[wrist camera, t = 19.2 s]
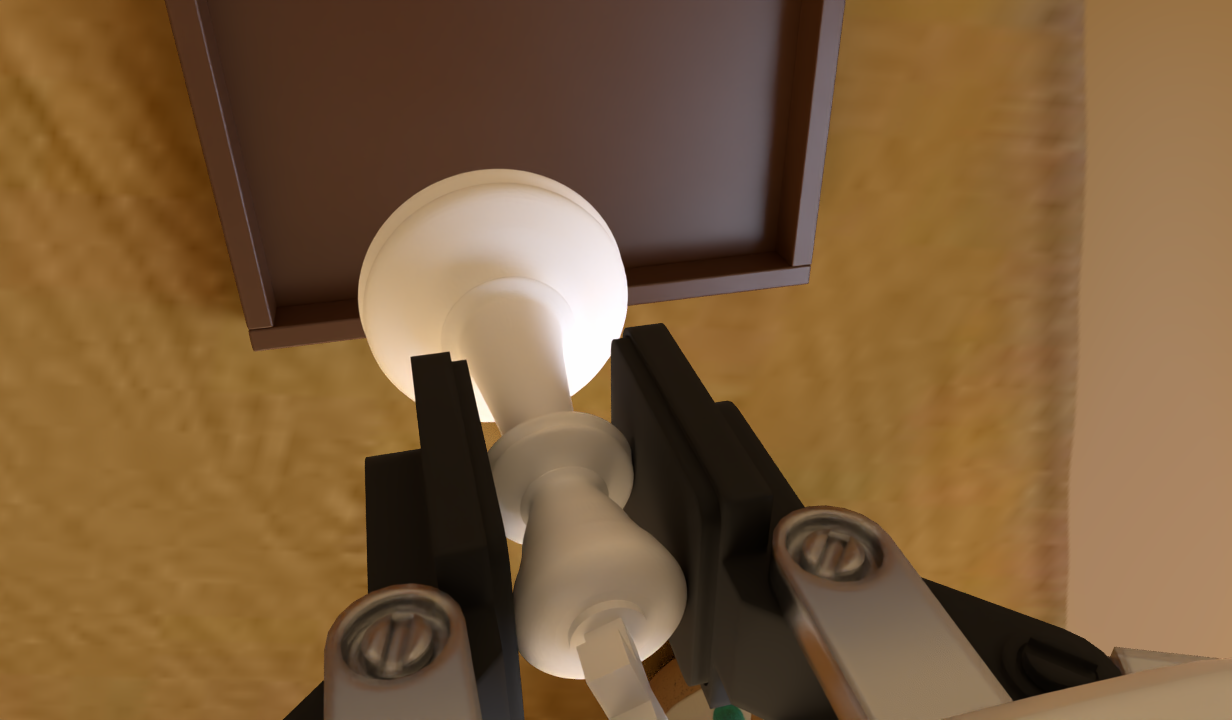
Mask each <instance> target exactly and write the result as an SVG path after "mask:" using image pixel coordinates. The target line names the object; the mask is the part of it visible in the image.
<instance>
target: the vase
mask: <svg viewBox="0 0 1232 720" xmlns="http://www.w3.org/2000/svg"><path fill="white" fill-rule="evenodd" d="M649 684H650V687H651V689H652V691H653V693H654V695H655V696H656V698H657V700H658V702H659V704H660V706H661V707H662V709H663V711H664V713H665V715H666V716H667V718H668V720H751V713H749V712H747V711H745V710H742V709H740V708H738V707H736V706H734V705H732V704H730V705H726V706H722V707H718V708H714V709H710V708H709V705H708V703H707V700H706V698H705V696H704V693H703V691H702V688H701V686H700V685H695V686H691V687H690V686H688V685H687V684H686V682H685V680H684V678H683V675H682V673H681V670H680V668H679V665H678V663H677V660H676V658H675V659H673V660H672V661H670V662H669V663H668V664H667V665H665V666H664V667H663V668H662V669H661V670H659V671H658V672H657V674H656V675H655V676H654V677H653V678H652V679H651V680H650V682H649Z"/></svg>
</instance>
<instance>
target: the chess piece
mask: <svg viewBox="0 0 1232 720" xmlns="http://www.w3.org/2000/svg"><path fill="white" fill-rule="evenodd" d="M627 303H628V288H627V279H626V274H625V269H624V266H623V262H622V260H621V256H620V252H619V249H618V246H617V243H616V241H615V239H614V236H613V234H612V232H611V231H610V229H609V227H608V226H607V224H606V222H605V221H604V220H603V218H602V217H601V216H600V214H599V213H598V212H597V211H596V210H595V209H594V208H593V206H592V205H590V204H589V203H588V202H587V201H586V200H585V199H584V198H583V197H581V196H580V195H579V194H577V193H576V192H574V191H573V190H572V189H570V188H568V187H567V186H565V185H563V184H561V183H559V182H557V181H555V180H552V179H550V178H547V177H544V176H541V175H538V174H534V173H531V172H526V171H520V170H512V169H485V170H477V171H471V172H466V173H462V174H458V175H455V176H452V177H449V178H446V179H443V180H441V181H439V182H436V183H434V184H432V185H430V186H428V187H426V188H425V189H423V190H421V191H420V192H418V193H416V194H415V195H413V196H412V197H411V198H409V199H408V200H407V201H406V202H404V203H403V204H402V205H401V206H400V207H399V208H398V209H397V210H395V211H394V212H393V213H392V215H391V216H390V217H389V218H388V219H387V220H386V221H385V223H384V224H383V225H382V227H381V228H380V229H379V231H378V232H377V234H376V236H375V237H374V239H373V241H372V243H371V244H370V246H369V249H368V251H367V253H366V256H365V259H364V262H363V265H362V268H361V273H360V278H359V286H358V307H359V313H360V319H361V323H362V326H363V330H364V332H365V335H366V338H367V340H368V343H369V346H370V348H371V351H372V353H373V355H374V357H375V359H376V361H377V363H378V365H379V366H380V368H381V369H382V371H383V372H384V374H385V375H386V376H387V377H388V379H389V380H390V381H391V382H392V383H393V384H394V385H395V386H396V387H397V388H398V389H399V390H400V391H401V392H403V393H404V394H405V395H406V396H408V397H409V398H410V399H412V400H413V401H415V393H414V385H413V376H412V368H411V359H410V357H411V356H419V355H426V354H434V353H441V352H450V356H451V361H459V360H467V364H468V368H469V373H470V377H471V382H472V386H473V390H474V395H475V399H476V404H477V408H478V413H479V417H480V422H496V424H497V426H498V428H499V430H500V432H501V434H502V437H501V438H500V439H499V440H498V441H497V442H496V443H495V444H494V445H493V446H492V447H491V449H490V450H489V451H488V457H489V462H490V466H491V471H492V475H493V480H494V484H495V489H496V493H497V497H498V502H499V506H500V511H501V515H502V520H503V524H504V529H505V535H506V537H507V538H508V539H510V540H512V541H515V542H517V543H519V544H522V559H521V564H520V569H519V572H518V575H517V578H516V581H515V585H514V590H513V603H514V614H515V624H516V635H517V646H518V651H519V652H520V654H521V655H522V656H523V657H524V658H525V659H526V660H527V661H528V662H529V663H530V664H531V665H533V666H534V667H536V668H537V669H539V670H541V671H543V672H545V673H548V674H551V675H554V676H558V677H562V678H569V679H586V683H587V685H588V687H589V688H590V690H591V691H592V693H593V695H594V696H595V698H596V699H597V701H598V703H599V704H600V706H601V707H602V709H603V711H604V712H605V714H606V715H607V717H608V719H609V720H668V718H667V716H666V715H665V713H664V711H663V709H662V707H661V706H660V704H659V702H658V700H657V698H656V696H655V695H654V693H653V691H652V689H651V687H650V684H649V682H648V679H647V676H646V673H645V671H644V668H643V665H642V661H643V660H645V659H646V658H648V657H649V656H651V655H652V654H653V653H654V652H656V651H657V650H658V649H659V648H660V647H661V646H662V645H663V644H664V643H665V642H666V641H667V640H668V639H669V638H670V636H671V635H672V634H673V632H674V631H675V629H676V628H677V626H678V625H679V623H680V621H681V619H682V616H683V614H684V611H685V607H686V602H687V585H686V580H685V577H684V574H683V571H682V569H681V567H680V566H679V564H678V562H677V561H676V560H675V558H674V557H673V556H672V555H671V554H670V552H669V551H668V550H667V549H666V548H665V547H664V546H663V545H662V544H661V543H660V542H659V541H657V540H656V539H655V538H654V537H653V536H652V535H651V534H650V533H648V532H647V531H645V530H644V529H642V528H640V527H639V526H638V525H637V524H636V523H635V522H634V521H632V520H631V519H630V518H629V516H628V515H627V514H626V513H625V511H624V510H623V508H624V506H625V505H626V503H627V501H628V499H629V497H630V494H631V491H632V487H633V481H634V471H633V465H632V453H631V448H630V445H629V443H628V441H627V440H626V438H625V437H624V435H623V434H622V433H621V432H620V431H619V430H618V429H617V428H616V427H615V426H614V425H612V424H611V423H609V422H608V421H606V420H604V419H602V418H600V417H597V416H595V415H591V414H587V413H583V412H574V411H573V407H572V401H571V396H572V395H574V394H575V393H576V392H578V391H579V390H580V389H582V388H583V387H584V386H585V385H586V384H587V383H588V382H589V381H590V380H591V379H592V378H593V377H594V376H595V375H596V374H597V373H598V372H599V371H600V369H601V368H602V367H603V366H604V364H605V363H606V361H607V360H608V358H609V357H610V355H611V343H612V340H613V339H619V337H620V335H621V332H622V329H623V326H624V322H625V318H626V312H627Z"/></svg>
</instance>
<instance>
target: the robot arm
mask: <svg viewBox="0 0 1232 720" xmlns="http://www.w3.org/2000/svg"><path fill="white" fill-rule="evenodd" d="M410 359H411V368H412V376H413V385H414V393H415V402H416V410H417V419H418V428H419V436H420V445H421V449H416V450H410V451H403V452H397V453H390V454H384V455H378V456H371V457H366V459H365V491H366V532H367V572H368V594H367V595H365V596H363V597H361V598H360V599H358V600H356V601H354V602H353V603H352V604H351V605H350V606H348V607H347V608H346V609H345V610H344V611H343V612H342V613H341V614H340V615H339V616H338V617H337V619H336V620H335V622H334V624H333V625H332V627H331V629H330V630H329V632H328V635H327V640H326V644H325V649H324V681H322V682H321V683H320V684H319V685H318V686H317V687H316V688H315V689H314V690H313V691H312V692H311V693H310V694H309V695H308V696H307V697H306V698H305V699H304V700H303V701H302V702H301V703H300V704H299V705H298V706H297V707H296V708H295V709H293V710H292V711H291V712H290V713H289V714H288V715H287V716H286V717H285V718H284V719H283V720H524V710H523V699H522V688H521V678H520V667H519V656H518V646H517V635H516V624H515V614H514V603H513V593H512V582H511V571H510V562H509V554H508V547H507V540H506V535H505V529H504V524H503V520H502V515H501V511H500V506H499V502H498V497H497V493H496V489H495V484H494V480H493V475H492V471H491V466H490V462H489V457H488V453H487V448H486V444H485V440H484V435H483V431H482V426H481V422H480V417H479V413H478V408H477V404H476V399H475V395H474V390H473V386H472V382H471V377H470V373H469V368H468V364H467V360H459V361H451V356H450V352H441V353H434V354H426V355H419V356H411V357H410ZM611 424H612V425H614V426H615V427H616V428H617V429H618V430H619V431H620V432H621V433H622V434H623V435H624V437H625V438H626V440H627V441H628V443H629V445H630V448H631V453H632V465H633V471H634V481H633V487H632V491H631V494H630V497H629V499H628V501H627V503H626V505H625V506H624V508H623V510H624V511H625V513H626V514H627V515H628V516H629V518H630V519H631V520H632V521H634V522H635V523H636V524H637V525H638V526H639V527H640V528H642V529H644V530H645V531H647V532H648V533H650V534H651V535H652V536H653V537H654V538H655V539H656V540H657V541H659V542H660V543H661V544H662V545H663V546H664V547H665V548H666V549H667V550H668V551H669V552H670V554H671V555H672V556H673V557H674V558H675V560H676V561H677V562H678V564H679V566H680V567H681V569H682V571H683V574H684V577H685V580H686V585H687V602H686V607H685V611H684V614H683V616H682V619H681V621H680V623H679V625H678V626H677V628H676V629H675V631H674V632H673V634H672V635H671V636H670V638H669V639H668V640H669V643H670V645H671V648H672V650H673V653H674V655H675V658H676V660H677V663H678V665H679V668H680V670H681V673H682V675H683V678H684V680H685V682H686V684H687V685H688V686H690V687H691V686H695V685H700V686H701V688H702V691H703V693H704V696H705V698H706V700H707V703H708V705H709V708H710V709H714V708H718V707H722V706H726V705H730V704H732V705H734V706H736V707H738V708H740V709H742V710H745V711H747V712H749V713H751V720H1232V658H1224V659H1219V658H1210V657H1201V656H1192V655H1183V654H1174V653H1164V652H1156V651H1147V650H1138V649H1129V648H1120V647H1114V649H1113V651H1112V654H1111V656H1110V657H1109V656H1106V655H1105V654H1104V652H1102V651H1101V650H1099V649H1098V648H1097V647H1095V646H1094V645H1093V644H1091V643H1090V642H1088V641H1087V640H1086V639H1084V638H1082V637H1080V636H1078V635H1075V634H1073V633H1071V632H1069V631H1067V630H1065V629H1063V628H1060V627H1057V626H1054V625H1052V624H1049V623H1046V622H1043V621H1040V620H1038V619H1035V618H1032V617H1029V616H1027V615H1024V614H1021V613H1018V612H1016V611H1013V610H1010V609H1007V608H1005V607H1002V606H999V605H996V604H994V603H991V602H988V601H985V600H982V599H980V598H977V597H974V596H971V595H969V594H966V593H963V592H960V591H958V590H955V589H952V588H949V587H947V586H944V585H941V584H938V583H936V582H933V581H930V580H927V579H925V578H922V577H920V576H919V574H918V573H917V572H916V570H915V569H914V568H913V566H912V565H911V564H910V562H909V561H908V560H907V558H906V557H905V556H904V554H903V553H902V552H901V550H900V549H899V548H898V546H897V545H896V544H895V542H894V541H893V540H892V538H891V537H890V536H889V535H888V534H887V533H886V532H885V531H884V530H883V529H882V528H881V527H880V526H879V525H878V524H877V523H875V522H874V521H872V520H870V519H869V518H867V517H866V516H864V515H862V514H859V513H857V512H854V511H851V510H848V509H845V508H840V507H833V506H826V505H825V506H809V507H804V506H803V504H802V503H801V501H800V500H799V498H798V497H797V495H796V494H795V492H794V491H793V489H792V488H791V486H790V485H789V483H788V482H787V480H786V479H785V478H784V476H783V475H782V473H781V472H780V470H779V469H778V467H777V466H776V464H775V463H774V461H773V460H772V458H771V457H770V455H769V454H768V452H767V451H766V449H765V448H764V446H763V445H762V444H761V442H760V441H759V439H758V438H757V436H756V435H755V433H754V432H753V430H752V429H751V427H750V426H749V424H748V423H747V421H746V420H745V418H744V417H743V415H742V414H741V412H740V411H739V410H738V408H737V407H736V406H735V405H734V404H733V403H732V402H730V401H722V402H716V403H715V402H714V401H713V399H712V398H711V396H710V395H709V393H708V391H707V390H706V388H705V387H704V385H703V384H702V382H701V381H700V379H699V377H698V376H697V374H696V373H695V371H694V370H693V368H692V367H691V365H690V363H689V362H688V360H687V359H686V357H685V356H684V354H683V353H682V351H681V349H680V348H679V346H678V345H677V343H676V342H675V340H674V339H673V337H672V335H671V334H670V332H669V331H668V329H667V328H666V326H665V325H664V324H663V323H658V324H651V325H643V326H636V327H628V328H625V329H624V332H623V338H620V339H613V340H612V343H611Z"/></svg>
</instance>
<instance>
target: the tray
mask: <svg viewBox="0 0 1232 720" xmlns="http://www.w3.org/2000/svg"><path fill="white" fill-rule="evenodd" d="M165 4H166V8H167V12H168V16H169V20H170V24H171V28H172V32H173V35H174V39H175V43H176V47H177V51H178V55H179V59H180V63H181V67H182V71H183V75H184V79H185V83H186V87H187V91H188V95H189V99H190V103H191V107H192V111H193V115H194V118H195V122H196V126H197V130H198V134H199V138H200V142H201V146H202V150H203V154H204V158H205V162H206V166H207V170H208V174H209V178H210V182H211V186H212V190H213V194H214V197H215V201H216V205H217V209H218V213H219V217H220V221H221V225H222V229H223V233H224V237H225V241H226V245H227V249H228V253H229V257H230V261H231V265H232V269H233V273H234V276H235V280H236V284H237V288H238V292H239V296H240V300H241V304H242V308H243V312H244V316H245V320H246V324H247V327H248V329H249V336H250V340H251V344H252V348H253V350H254V351H262V350H270V349H278V348H287V347H295V346H303V345H311V344H319V343H328V342H336V341H344V340H352V339H360V338H366V335H365V332H364V330H363V326H362V323H361V319H360V313H359V307H358V286H359V278H360V273H361V268H362V265H363V262H364V259H365V256H366V253H367V251H368V249H369V246H370V244H371V243H372V241H373V239H374V237H375V236H376V234H377V232H378V231H379V229H380V228H381V227H382V225H383V224H384V223H385V221H386V220H387V219H388V218H389V217H390V216H391V215H392V213H393V212H394V211H395V210H397V209H398V208H399V207H400V206H401V205H402V204H403V203H404V202H406V201H407V200H408V199H409V198H411V197H412V196H413V195H415V194H416V193H418V192H420V191H421V190H423V189H425V188H426V187H428V186H430V185H432V184H434V183H436V182H439V181H441V180H443V179H446V178H449V177H452V176H455V175H458V174H462V173H466V172H471V171H477V170H485V169H512V170H520V171H526V172H531V173H534V174H538V175H541V176H544V177H547V178H550V179H552V180H555V181H557V182H559V183H561V184H563V185H565V186H567V187H568V188H570V189H572V190H573V191H574V192H576V193H577V194H579V195H580V196H581V197H583V198H584V199H585V200H586V201H587V202H588V203H589V204H590V205H592V206H593V208H594V209H595V210H596V211H597V212H598V213H599V214H600V216H601V217H602V218H603V220H604V221H605V222H606V224H607V226H608V227H609V229H610V231H611V232H612V234H613V236H614V239H615V241H616V243H617V246H618V249H619V252H620V256H621V260H622V262H623V266H624V269H625V274H626V279H627V288H628V303H627V306H630V305H638V304H646V303H655V302H663V301H671V300H679V299H687V298H695V297H704V296H712V295H720V294H728V293H736V292H745V291H753V290H761V289H769V288H777V287H785V286H794V285H802V284H808V283H809V276H810V269H811V266H810V264H811V263H812V255H813V248H814V240H815V232H816V224H817V217H818V209H819V201H820V193H821V186H822V178H823V170H824V162H825V155H826V147H827V139H828V131H829V124H830V116H831V108H832V100H833V93H834V85H835V77H836V69H837V62H838V54H839V46H840V38H841V30H842V23H843V15H844V7H845V0H165Z"/></svg>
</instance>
